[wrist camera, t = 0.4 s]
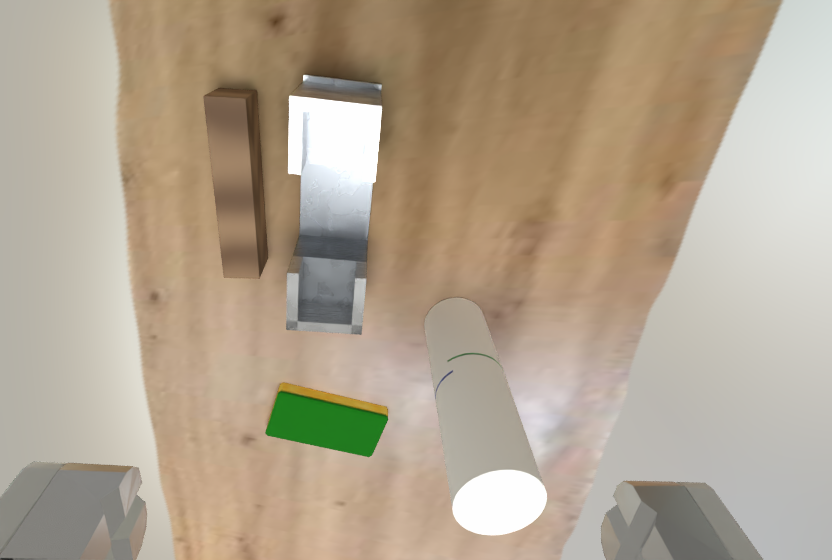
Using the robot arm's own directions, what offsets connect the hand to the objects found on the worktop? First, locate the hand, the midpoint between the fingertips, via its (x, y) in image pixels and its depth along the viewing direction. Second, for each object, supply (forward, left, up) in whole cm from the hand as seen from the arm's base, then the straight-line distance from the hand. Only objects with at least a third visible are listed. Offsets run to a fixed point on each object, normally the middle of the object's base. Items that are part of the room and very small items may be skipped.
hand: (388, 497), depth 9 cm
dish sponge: (+39, -3, -46) cm, 60 cm away
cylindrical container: (+24, +11, -45) cm, 52 cm away
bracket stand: (+10, -3, -45) cm, 46 cm away
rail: (+9, -12, -45) cm, 48 cm away
